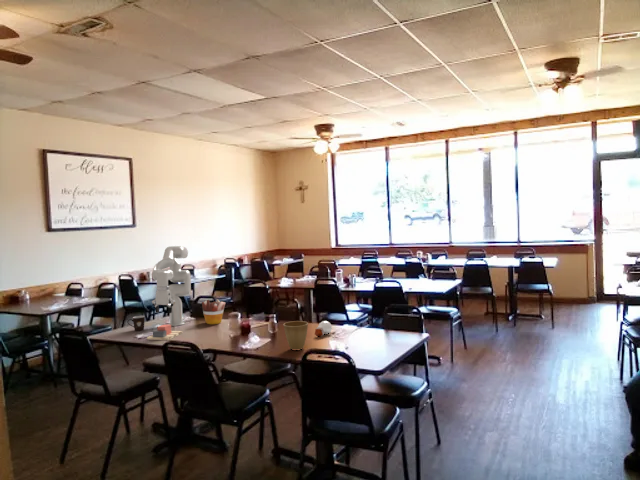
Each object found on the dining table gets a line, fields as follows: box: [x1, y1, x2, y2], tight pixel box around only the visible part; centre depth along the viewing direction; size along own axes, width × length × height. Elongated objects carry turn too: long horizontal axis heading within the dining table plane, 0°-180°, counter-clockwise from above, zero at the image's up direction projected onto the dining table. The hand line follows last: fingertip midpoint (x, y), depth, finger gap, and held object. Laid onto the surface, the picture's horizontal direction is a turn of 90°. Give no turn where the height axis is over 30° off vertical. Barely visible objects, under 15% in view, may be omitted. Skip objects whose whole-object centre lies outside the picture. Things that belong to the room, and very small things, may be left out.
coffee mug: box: [127, 315, 146, 332], centre depth 371 cm, size 12×9×10 cm
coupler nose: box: [152, 329, 167, 337], centre depth 342 cm, size 4×8×4 cm, turn 78°
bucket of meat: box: [201, 298, 226, 325], centre depth 389 cm, size 20×16×20 cm
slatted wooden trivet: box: [146, 330, 183, 341], centre depth 349 cm, size 20×16×2 cm
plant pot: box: [283, 320, 309, 350], centre depth 303 cm, size 15×15×16 cm
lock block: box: [156, 324, 172, 335], centre depth 348 cm, size 8×6×6 cm
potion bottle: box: [314, 320, 333, 337], centre depth 338 cm, size 9×10×15 cm
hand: (163, 312), depth 349 cm, fingers open, 9 cm apart
